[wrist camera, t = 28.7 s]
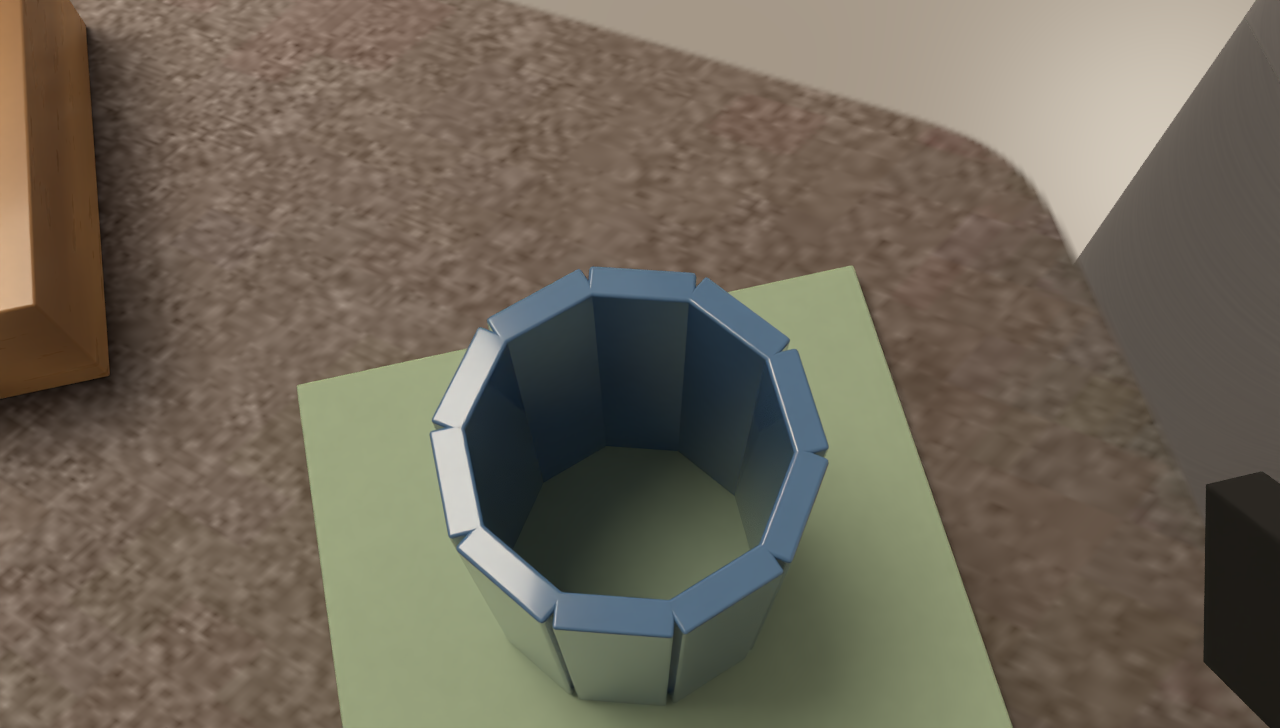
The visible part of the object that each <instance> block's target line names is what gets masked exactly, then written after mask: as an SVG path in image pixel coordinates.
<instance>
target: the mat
mask: <svg viewBox="0 0 1280 728" xmlns="http://www.w3.org/2000/svg"><path fill="white" fill-rule="evenodd" d="M728 293H729V294H730V295H732V296H733V297H734V298H736V299H737V300H738V301H740V302H741V303H743V304H744V305H745V306H747V307H748V308H749V309H751V310H752V311H753V312H755V313H756V314H757V315H759V316H760V317H761V318H763V319H764V320H766V321H767V322H768V323H770V324H771V325H772V326H774V327H775V328H776V329H778V330H779V331H780V332H782V333H783V334H784V335H786V336H787V337H788V338H789V339H790V343H789V346H788V350H790V349H797V350H798V352H799V355H800V358H801V361H802V364H803V367H804V370H805V373H806V376H807V379H808V382H809V386H810V389H811V392H812V395H813V398H814V401H815V404H816V407H817V410H818V413H819V417H820V420H821V423H822V426H823V429H824V432H825V435H826V438H827V441H828V444H829V449H828V452H827V454H826V456H825V458H826V459H828V461H829V464H828V467H827V470H826V472H825V475H824V478H823V480H822V483H821V486H820V489H819V491H818V494H817V497H816V500H815V502H814V505H813V508H812V510H811V513H810V516H809V519H808V521H807V524H806V527H805V530H804V532H803V535H802V538H801V540H800V543H799V546H798V549H797V551H796V554H795V557H794V560H793V562H792V564H791V566H790V569H789V571H788V573H787V575H786V577H785V580H784V582H783V584H782V586H781V588H780V590H779V593H778V595H777V597H776V599H775V601H774V604H773V606H772V608H771V610H770V612H769V615H768V617H767V619H766V621H765V623H764V626H763V628H762V630H761V632H760V634H759V637H758V639H757V641H756V643H755V645H754V647H753V649H752V650H749V652H748V654H747V656H746V658H745V659H744V660H742V661H741V662H739V663H738V664H736V665H734V666H733V667H731V668H730V669H728V670H727V671H725V672H724V673H722V674H720V675H719V676H717V677H716V678H714V679H713V680H711V681H710V682H708V683H706V684H705V685H703V686H702V687H700V688H699V689H697V690H695V691H694V692H692V693H691V694H689V695H688V696H686V697H685V698H683V699H681V700H680V701H678V702H677V703H673V702H672V701H671V699H670V698H669V696H668V694H667V701H666V705H665V706H654V705H641V704H628V703H615V702H602V701H589V700H580V699H579V698H578V695H577V692H576V691H575V692H574V693H573V694H572V695H569V694H567V693H566V692H565V691H564V690H563V689H562V688H561V687H560V686H558V685H557V684H556V683H555V682H554V681H553V680H552V679H551V678H549V677H548V676H547V675H546V674H545V673H544V672H543V671H542V670H540V669H539V668H538V667H537V666H536V665H535V664H534V663H533V662H531V661H530V660H529V659H528V658H527V657H526V656H525V655H524V654H522V653H521V652H520V651H519V650H518V649H517V648H516V647H515V646H513V645H512V644H511V643H510V642H509V641H508V639H507V637H506V636H505V634H504V632H503V631H502V629H501V627H500V626H499V624H498V622H497V620H496V619H495V617H494V615H493V613H492V612H491V610H490V608H489V606H488V605H487V603H486V601H485V599H484V598H483V596H482V594H481V592H480V591H479V589H478V587H477V585H476V584H475V582H474V580H473V579H472V577H471V575H470V573H469V572H468V570H467V568H466V566H465V565H464V563H463V561H462V559H461V558H460V556H459V554H458V552H457V551H456V549H455V547H454V545H453V544H452V542H451V540H450V538H449V537H448V533H447V527H446V522H445V517H444V511H443V506H442V500H441V495H440V490H439V484H438V479H437V474H436V468H435V463H434V457H433V452H432V447H431V441H430V436H429V434H430V432H431V431H433V430H435V428H434V425H433V423H432V417H433V415H434V413H435V411H436V409H437V407H438V405H439V404H440V402H441V400H442V398H443V396H444V394H445V392H446V390H447V388H448V386H449V384H450V382H451V380H452V378H453V376H454V374H455V372H456V370H457V368H458V366H459V364H460V362H461V360H462V358H463V356H464V354H465V352H466V350H467V349H468V348H467V349H462V350H458V351H453V352H449V353H444V354H439V355H435V356H430V357H425V358H421V359H416V360H412V361H407V362H402V363H398V364H393V365H388V366H384V367H379V368H374V369H370V370H365V371H361V372H356V373H351V374H347V375H342V376H337V377H333V378H328V379H323V380H319V381H314V382H310V383H305V384H300V385H298V386H297V393H298V400H299V408H300V415H301V423H302V430H303V437H304V445H305V452H306V460H307V467H308V475H309V482H310V489H311V497H312V504H313V512H314V519H315V526H316V534H317V541H318V549H319V556H320V564H321V571H322V578H323V586H324V593H325V601H326V608H327V615H328V623H329V630H330V638H331V645H332V653H333V660H334V667H335V675H336V682H337V690H338V697H339V704H340V712H341V719H342V727H343V728H1013V727H1012V724H1011V721H1010V718H1009V715H1008V712H1007V709H1006V706H1005V703H1004V700H1003V698H1002V695H1001V692H1000V689H999V686H998V683H997V680H996V677H995V674H994V672H993V669H992V666H991V663H990V660H989V657H988V654H987V651H986V648H985V645H984V643H983V640H982V637H981V634H980V631H979V628H978V625H977V622H976V619H975V617H974V614H973V611H972V608H971V605H970V602H969V599H968V596H967V593H966V590H965V588H964V585H963V582H962V579H961V576H960V573H959V570H958V567H957V564H956V562H955V559H954V556H953V553H952V550H951V547H950V544H949V541H948V538H947V536H946V533H945V530H944V527H943V524H942V521H941V518H940V515H939V512H938V509H937V507H936V504H935V501H934V498H933V495H932V492H931V489H930V486H929V483H928V481H927V478H926V475H925V472H924V469H923V466H922V463H921V460H920V457H919V454H918V452H917V449H916V446H915V443H914V440H913V437H912V434H911V431H910V428H909V426H908V423H907V420H906V417H905V414H904V411H903V408H902V405H901V402H900V399H899V397H898V394H897V391H896V388H895V385H894V382H893V379H892V376H891V373H890V371H889V368H888V365H887V362H886V359H885V356H884V353H883V350H882V347H881V344H880V342H879V339H878V336H877V333H876V330H875V327H874V324H873V321H872V318H871V316H870V313H869V310H868V307H867V304H866V301H865V298H864V295H863V292H862V290H861V287H860V284H859V281H858V278H857V275H856V272H855V269H854V267H853V266H847V267H842V268H838V269H833V270H828V271H824V272H819V273H815V274H810V275H805V276H801V277H796V278H791V279H787V280H782V281H778V282H773V283H768V284H764V285H759V286H754V287H750V288H745V289H740V290H736V291H731V292H728ZM513 550H514V551H515V552H516V553H517V554H519V555H520V556H521V557H522V558H523V559H524V560H526V561H527V562H528V563H529V564H530V565H531V566H533V567H534V568H535V569H536V570H537V571H538V572H540V573H541V574H542V575H543V576H544V577H545V578H547V579H548V580H549V581H550V582H551V583H552V584H554V585H555V586H556V587H557V588H558V589H559V590H560V591H562V592H571V593H584V594H598V595H611V596H625V597H639V598H652V599H666V600H670V599H671V598H673V597H675V596H676V595H678V594H679V593H681V592H683V591H684V590H686V589H688V588H689V587H691V586H692V585H694V584H696V583H697V582H699V581H700V580H702V579H704V578H705V577H707V576H709V575H710V574H712V573H713V572H715V571H717V570H718V569H720V568H721V567H723V566H725V565H726V564H728V563H730V562H731V561H733V560H734V559H736V558H738V557H739V556H741V555H742V554H744V553H746V552H747V551H749V550H750V548H749V545H748V541H747V538H746V534H745V531H744V527H743V524H742V520H741V517H740V513H739V510H738V506H737V503H736V499H735V496H734V495H733V494H731V493H730V492H729V491H727V490H726V489H725V488H724V487H722V486H721V485H720V484H719V483H717V482H716V481H715V480H714V479H712V478H711V477H710V476H709V475H707V474H706V473H705V472H704V471H702V470H701V469H700V468H699V467H697V466H696V465H695V464H693V463H692V462H691V461H690V460H688V459H687V458H686V457H685V456H683V455H682V454H681V453H680V452H678V451H669V450H654V449H640V448H626V447H611V446H606V447H604V448H602V449H601V450H599V451H597V452H595V453H594V454H592V455H590V456H589V457H587V458H585V459H583V460H582V461H580V462H578V463H577V464H575V465H573V466H571V467H570V468H568V469H566V470H564V471H563V472H561V473H559V474H558V475H556V476H554V477H552V478H551V479H549V480H547V481H546V482H544V483H543V485H542V487H541V489H540V492H539V494H538V496H537V498H536V500H535V502H534V505H533V507H532V509H531V511H530V513H529V515H528V518H527V520H526V522H525V524H524V526H523V528H522V531H521V533H520V535H519V537H518V539H517V542H516V544H515V546H514V548H513Z"/></svg>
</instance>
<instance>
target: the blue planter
mask: <svg viewBox="0 0 1280 728" xmlns="http://www.w3.org/2000/svg"><path fill="white" fill-rule="evenodd" d="M696 278H697V277H696V274H694V273H687V272H672V271H656V270H641V269H625V268H610V267H594V266H593V267H591V268H590V269H589V275H588V279H587V278H586V276H585V275H584V273H583V272H582V271H581V270H580V269H577V270H575V271H574V272H572V273H570V274H568V275H566V276H564V277H563V278H561V279H559V280H557V281H555V282H553V283H552V284H550V285H548V286H546V287H544V288H542V289H541V290H539V291H537V292H535V293H533V294H531V295H529V296H528V297H526V298H524V299H522V300H520V301H518V302H517V303H515V304H513V305H511V306H509V307H507V308H506V309H504V310H502V311H500V312H498V313H496V314H495V315H493V316H491V317H489V318H488V319H487V323H488V327H489V330H487V329H484V328H482V327H479V328H478V329H477V331H476V333H475V335H474V337H473V339H472V341H471V343H470V345H469V347H468V349H467V350H466V352H465V354H464V356H463V358H462V360H461V362H460V364H459V366H458V368H457V370H456V372H455V374H454V376H453V378H452V380H451V382H450V384H449V386H448V388H447V390H446V392H445V394H444V396H443V398H442V400H441V402H440V404H439V405H438V407H437V409H436V411H435V413H434V415H433V417H432V423H433V425H434V428H435V430H433V431H431V432H430V434H429V436H430V441H431V447H432V452H433V457H434V463H435V468H436V474H437V479H438V484H439V490H440V495H441V500H442V506H443V511H444V517H445V522H446V527H447V533H448V537H449V538H450V540H451V542H452V544H453V545H454V547H455V549H456V551H457V552H458V554H459V556H460V558H461V559H462V561H463V563H464V565H465V566H466V568H467V570H468V572H469V573H470V575H471V577H472V579H473V580H474V582H475V584H476V585H477V587H478V589H479V591H480V592H481V594H482V596H483V598H484V599H485V601H486V603H487V605H488V606H489V608H490V610H491V612H492V613H493V615H494V617H495V619H496V620H497V622H498V624H499V626H500V627H501V629H502V631H503V632H504V634H505V636H506V637H507V639H508V641H509V642H510V643H511V644H512V645H513V646H515V647H516V648H517V649H518V650H519V651H520V652H521V653H522V654H524V655H525V656H526V657H527V658H528V659H529V660H530V661H531V662H533V663H534V664H535V665H536V666H537V667H538V668H539V669H540V670H542V671H543V672H544V673H545V674H546V675H547V676H548V677H549V678H551V679H552V680H553V681H554V682H555V683H556V684H557V685H558V686H560V687H561V688H562V689H563V690H564V691H565V692H566V693H567V694H569V695H572V694H573V693H574V692H575V691H576V692H577V695H578V698H579V699H580V700H589V701H602V702H615V703H628V704H641V705H654V706H665V705H666V701H667V694H668V696H669V698H670V699H671V701H672V702H673V703H677V702H678V701H680V700H681V699H683V698H685V697H686V696H688V695H689V694H691V693H692V692H694V691H695V690H697V689H699V688H700V687H702V686H703V685H705V684H706V683H708V682H710V681H711V680H713V679H714V678H716V677H717V676H719V675H720V674H722V673H724V672H725V671H727V670H728V669H730V668H731V667H733V666H734V665H736V664H738V663H739V662H741V661H742V660H744V659H745V658H746V656H747V654H748V652H749V650H752V649H753V647H754V645H755V643H756V641H757V639H758V637H759V634H760V632H761V630H762V628H763V626H764V623H765V621H766V619H767V617H768V615H769V612H770V610H771V608H772V606H773V604H774V601H775V599H776V597H777V595H778V593H779V590H780V588H781V586H782V584H783V582H784V580H785V577H786V575H787V573H788V571H789V569H790V566H791V564H792V562H793V560H794V557H795V554H796V551H797V549H798V546H799V543H800V540H801V538H802V535H803V532H804V530H805V527H806V524H807V521H808V519H809V516H810V513H811V510H812V508H813V505H814V502H815V500H816V497H817V494H818V491H819V489H820V486H821V483H822V480H823V478H824V475H825V472H826V470H827V467H828V464H829V461H828V459H826V458H825V456H826V454H827V452H828V449H829V444H828V441H827V438H826V435H825V432H824V429H823V426H822V423H821V420H820V417H819V413H818V410H817V407H816V404H815V401H814V398H813V395H812V392H811V389H810V386H809V382H808V379H807V376H806V373H805V370H804V367H803V364H802V361H801V358H800V355H799V352H798V350H797V349H790V350H788V346H789V343H790V339H789V338H788V337H787V336H786V335H784V334H783V333H782V332H780V331H779V330H778V329H776V328H775V327H774V326H772V325H771V324H770V323H768V322H767V321H766V320H764V319H763V318H761V317H760V316H759V315H757V314H756V313H755V312H753V311H752V310H751V309H749V308H748V307H747V306H745V305H744V304H743V303H741V302H740V301H738V300H737V299H736V298H734V297H733V296H732V295H730V294H729V293H728V292H726V291H725V290H724V289H722V288H721V287H720V286H718V285H717V284H716V283H714V282H713V281H711V280H710V279H709V278H707V277H706V278H704V279H703V280H702V281H701V282H700V283H699V284H698V285H697V286H696ZM606 446H611V447H626V448H640V449H654V450H669V451H678V452H680V453H681V454H682V455H683V456H685V457H686V458H687V459H688V460H690V461H691V462H692V463H693V464H695V465H696V466H697V467H699V468H700V469H701V470H702V471H704V472H705V473H706V474H707V475H709V476H710V477H711V478H712V479H714V480H715V481H716V482H717V483H719V484H720V485H721V486H722V487H724V488H725V489H726V490H727V491H729V492H730V493H731V494H733V495H734V496H735V499H736V503H737V506H738V510H739V513H740V517H741V520H742V524H743V527H744V531H745V534H746V538H747V541H748V545H749V548H750V550H749V551H747V552H746V553H744V554H742V555H741V556H739V557H738V558H736V559H734V560H733V561H731V562H730V563H728V564H726V565H725V566H723V567H721V568H720V569H718V570H717V571H715V572H713V573H712V574H710V575H709V576H707V577H705V578H704V579H702V580H700V581H699V582H697V583H696V584H694V585H692V586H691V587H689V588H688V589H686V590H684V591H683V592H681V593H679V594H678V595H676V596H675V597H673V598H671V599H670V600H666V599H652V598H639V597H625V596H611V595H598V594H584V593H571V592H562V591H560V590H559V589H558V588H557V587H556V586H555V585H554V584H552V583H551V582H550V581H549V580H548V579H547V578H545V577H544V576H543V575H542V574H541V573H540V572H538V571H537V570H536V569H535V568H534V567H533V566H531V565H530V564H529V563H528V562H527V561H526V560H524V559H523V558H522V557H521V556H520V555H519V554H517V553H516V552H515V551H514V550H513V548H514V546H515V544H516V542H517V539H518V537H519V535H520V533H521V531H522V528H523V526H524V524H525V522H526V520H527V518H528V515H529V513H530V511H531V509H532V507H533V505H534V502H535V500H536V498H537V496H538V494H539V492H540V489H541V487H542V485H543V483H544V482H546V481H547V480H549V479H551V478H552V477H554V476H556V475H558V474H559V473H561V472H563V471H564V470H566V469H568V468H570V467H571V466H573V465H575V464H577V463H578V462H580V461H582V460H583V459H585V458H587V457H589V456H590V455H592V454H594V453H595V452H597V451H599V450H601V449H602V448H604V447H606Z"/></svg>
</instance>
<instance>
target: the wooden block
mask: <svg viewBox="0 0 1280 728" xmlns="http://www.w3.org/2000/svg"><path fill="white" fill-rule="evenodd" d="M109 375H110V369H109V354H108V340H107V325H106V311H105V297H104V282H103V268H102V253H101V239H100V225H99V210H98V196H97V181H96V167H95V152H94V138H93V124H92V109H91V95H90V80H89V66H88V52H87V37H86V25H85V23H84V22H83V20H82V19H81V17H80V16H79V14H78V13H77V11H76V9H75V8H74V6H73V5H72V3H71V2H70V0H0V399H2V398H7V397H12V396H16V395H21V394H26V393H31V392H35V391H40V390H45V389H49V388H54V387H59V386H63V385H68V384H73V383H78V382H82V381H87V380H92V379H96V378H101V377H106V376H109Z"/></svg>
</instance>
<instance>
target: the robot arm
mask: <svg viewBox="0 0 1280 728" xmlns="http://www.w3.org/2000/svg"><path fill="white" fill-rule="evenodd" d="M1204 663H1205V664H1206V665H1207V666H1208V667H1209V668H1210V669H1211V670H1212V671H1213V672H1214V673H1215V674H1216V675H1217V676H1218V677H1219V678H1220V679H1221V680H1222V681H1223V682H1224V683H1225V684H1226V685H1227V686H1228V687H1229V688H1230V689H1231V690H1232V691H1233V692H1234V693H1235V694H1236V695H1237V696H1238V697H1239V698H1240V699H1241V700H1242V701H1243V702H1244V703H1245V704H1246V705H1247V706H1248V707H1249V708H1250V709H1251V710H1252V711H1253V712H1254V713H1255V714H1256V715H1257V716H1258V717H1259V718H1260V719H1262V720H1263V721H1264V722H1265V723H1266V724H1267V725H1268V726H1269V727H1270V728H1280V483H1278V482H1277V481H1275V480H1274V479H1272V478H1271V477H1270V476H1268V475H1267V474H1265V473H1264V472H1258V473H1253V474H1249V475H1245V476H1241V477H1236V478H1232V479H1228V480H1224V481H1219V482H1215V483H1211V484H1206V528H1205V596H1204Z"/></svg>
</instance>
